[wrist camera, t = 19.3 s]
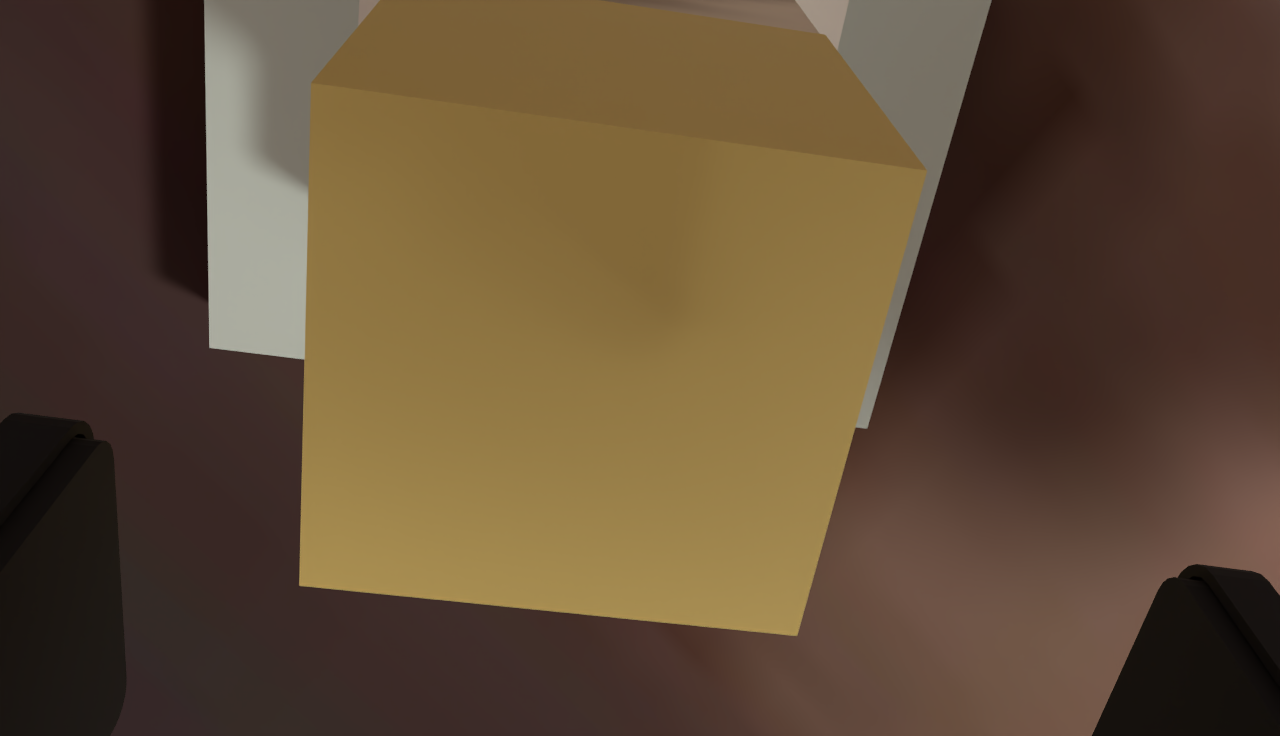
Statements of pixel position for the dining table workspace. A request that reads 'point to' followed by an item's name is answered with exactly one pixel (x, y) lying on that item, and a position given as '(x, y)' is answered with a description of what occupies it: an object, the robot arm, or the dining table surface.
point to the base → (332, 10)
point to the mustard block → (590, 307)
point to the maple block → (737, 11)
